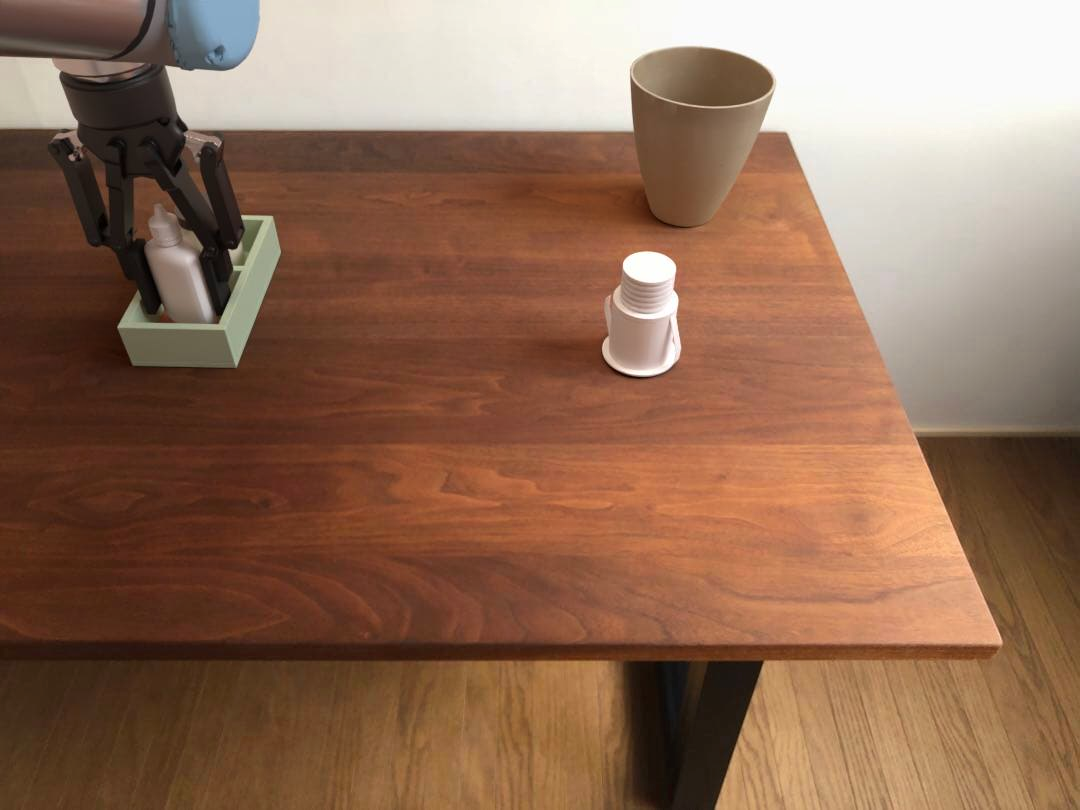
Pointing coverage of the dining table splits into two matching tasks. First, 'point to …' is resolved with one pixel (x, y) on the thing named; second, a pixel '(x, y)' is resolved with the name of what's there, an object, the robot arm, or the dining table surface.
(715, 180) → the plant pot
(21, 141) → the dining table surface
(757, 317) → the dining table surface
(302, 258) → the dining table surface
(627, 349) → the downlight
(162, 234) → the eye dropper bottle
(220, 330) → the green divided tray
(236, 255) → the spice jar
